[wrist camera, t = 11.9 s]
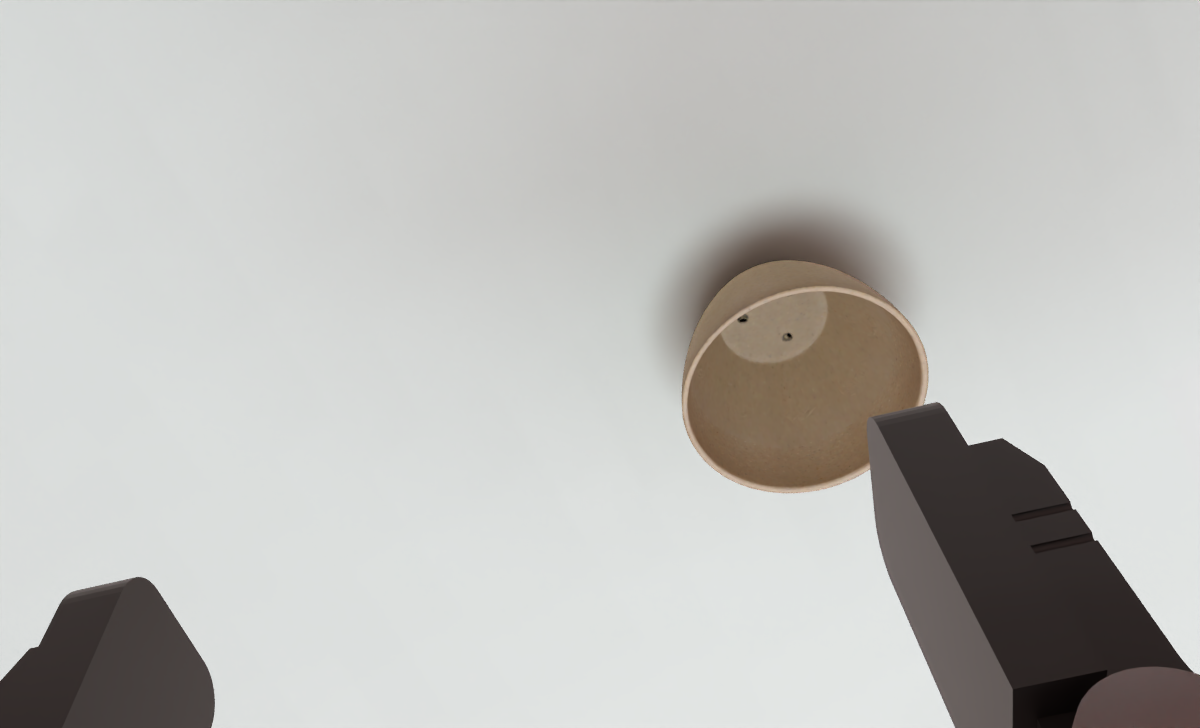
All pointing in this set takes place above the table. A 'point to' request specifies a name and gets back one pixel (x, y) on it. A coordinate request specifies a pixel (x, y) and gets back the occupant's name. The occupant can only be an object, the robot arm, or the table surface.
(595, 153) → the table surface
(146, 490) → the table surface
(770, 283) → the flower pot
